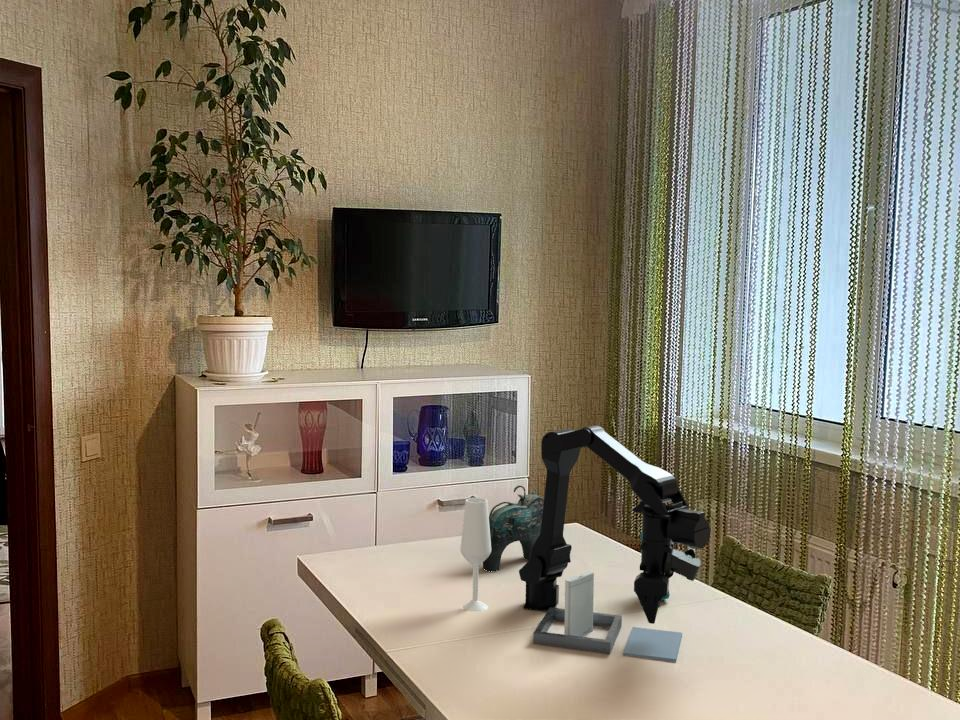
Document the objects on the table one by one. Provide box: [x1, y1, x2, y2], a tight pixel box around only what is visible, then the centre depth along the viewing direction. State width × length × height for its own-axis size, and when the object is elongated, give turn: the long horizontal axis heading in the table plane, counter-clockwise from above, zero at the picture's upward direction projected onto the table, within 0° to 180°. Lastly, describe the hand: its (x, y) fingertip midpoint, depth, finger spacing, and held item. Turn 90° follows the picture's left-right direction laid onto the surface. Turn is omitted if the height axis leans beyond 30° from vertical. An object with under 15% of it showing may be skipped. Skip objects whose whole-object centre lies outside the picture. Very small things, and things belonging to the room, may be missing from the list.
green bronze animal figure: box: [482, 485, 544, 573], centre depth 236 cm, size 20×6×20 cm, turn 133°
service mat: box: [622, 626, 683, 663], centre depth 187 cm, size 10×14×1 cm
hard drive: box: [563, 571, 595, 637], centre depth 190 cm, size 2×8×12 cm, turn 138°
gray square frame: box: [532, 607, 623, 655], centre depth 191 cm, size 15×15×2 cm
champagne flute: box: [459, 497, 491, 612], centre depth 205 cm, size 7×7×24 cm
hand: (654, 615), depth 186 cm, fingers open, 9 cm apart
